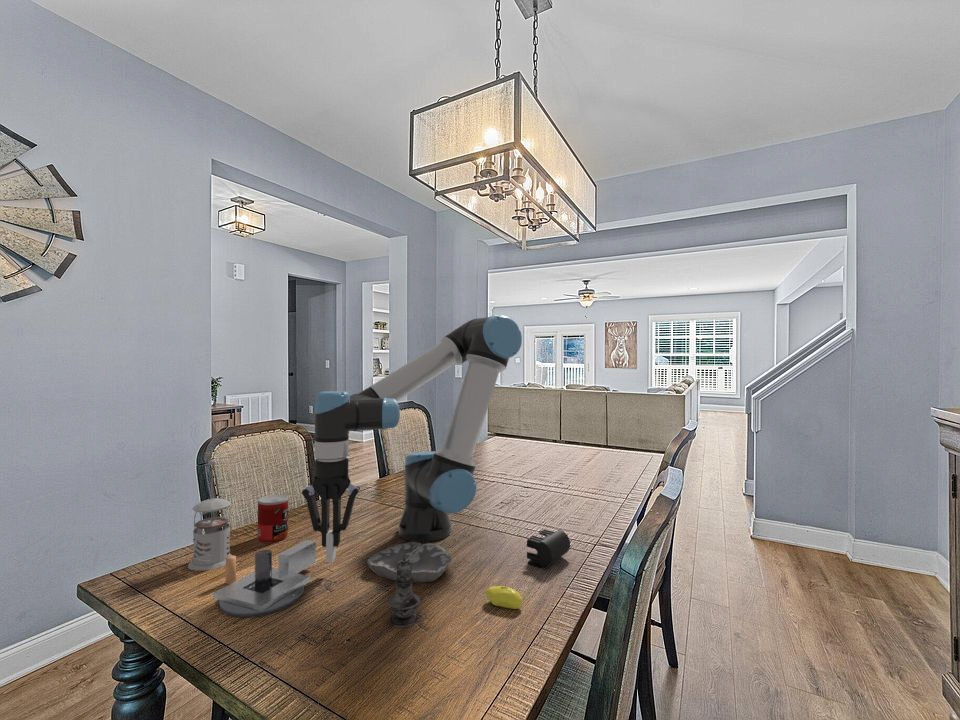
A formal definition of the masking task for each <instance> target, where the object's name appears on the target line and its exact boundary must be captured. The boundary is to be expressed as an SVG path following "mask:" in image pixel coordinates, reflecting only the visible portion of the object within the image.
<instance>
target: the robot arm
mask: <svg viewBox="0 0 960 720" xmlns="http://www.w3.org/2000/svg"><path fill="white" fill-rule="evenodd" d="M522 337H523V336H522V332H521V330H520V328H519V325H518V324H517V322H516V321H515V320H514V319H512V318H511V317H509V316H506V315H497V314H495V315H494V314H493V315H491V316H487V317H480V318H479V317H477V318H472V319H471V320H468V321H466V322H465V323H463V324H462V325H459V327H457V328H456V329H454V330H452V331H451V332H450V333H448V334H447V335H444V336H443V337H441V339H440V343H439V344H436V345H435V346H433V347H431V348H430V349H428V350H426V351H425V352H424V353H422V354H420V355H419V356H417V357H416V358H414V359H412V360H411V361H409V362H407V363H405V364H404V365H402V366H401V367H399V368H398V369H396V370H395V371H393V372H391V373H389V374H388V375H386V376H385V377H383V378H381V379H380V380H378V381H377V382H375V383H373V384H372V385H370V386H369V387H368V388H365V389H363V390H361V391H360V392H359V393H353V394H349V392H348V391H345V390H344V391H343V390H342V391H341V390H337V391H336V390H329V391H328V390H327V391H326V390H325V391H319V392H318V393H317V394H316V395H315V404H314V405H315V406H314V412H313V413H314V451H313V452H314V453H313V454H314V458H315V460H314V463H313V464H314V466H313V467H314V469H313V472H314V474H313V475H314V477H313V480H312V482H311V485H309V486H306V487H305V488H303V490H302V491H301V494H302V496H303V497H304V499H305V500H306V504H307V508H308V513H309V516H310V522H311V526H312V529H313V531H314V532H320V534H321V547H322V548H325V563H326V564H328V563H329V564H330V563H333V562H334V561H335V559H336V556H337V555H336V553H337V550H336V549H337V548H338V547H339V545H340V543H341V532H342V531H346V530H347V528H348V526H349V523H350V520H351V516H352V511H353V510H354V509H353V508H354V504H355V501H356V497H357V495H358V494H359V492H360V490H361V487H360V486H355V485H354V484H353V483H351V479H350V476H349V458H348V456H349V453H350V452H349V447H350V446H349V442H350V441H349V439H350V436H349V434H350V433H349V432H357V431H371V430H372V431H374V430H375V431H376V430H383V431H385V430H386V429H394V428H395V427H397V426H398V425H399V422H400V416H401V413H400V412H401V411H400V410H401V409H400V405H399V401H400V400H402V399H404V397H406V396H408V395H410V394H411V393H412V392H414V391H416V390H417V389H419V388H420V387H422V386H424V385H425V384H427V383H429V381H431V380H432V379H435V378H436V377H437V376H439V375H441V374H442V373H443V372H445V371H447V370H448V369H450V368H451V367H453V366H461V365H462V364H464V363H466V362H468V366H467V370H466V373H465V376H464V378H463V382H462V385H461V388H460V391H459V395H458V397H457V401H456V403H455V407H454V410H453V413H452V415H451V419H450V420H449V421H450V422H449V425H448V428H447V431H446V434H445V437H444V440H443V443H442V445H441V447H440V448H439V449H437V450H431V451H429V450H428V451H419V452H418V451H417V452H412V453H409V454H407V455H406V457H405V461H404V507H403V511H402V513H401V516H400V517H401V518H400V520H399V523H398V535H399V537H400V538H402V539H403V540H407V541H409V542H419V543H424V542H426V543H428V542H433V541H434V542H435V541H439V540H442V539H445V538H447V537H448V536H449V535H450V534H451V532H452V522H451V519H450V516H449V514H450V515H451V514H457V513H460V512H462V511H463V510H465V509H467V508H468V507H469V506H470V504H472V502H473V501H474V499H475V498H476V497H475V496H476V494H477V482H476V480H475V477H474V472H475V469H476V463H475V460H474V459H473V456H474V453H475V450H476V447H477V444H478V441H479V437H480V434H481V431H482V429H483V424H484V421H485V418H486V415H487V413H488V410H489V409H488V408H489V407H490V402H491V399H492V396H493V392H494V389H495V386H496V383H497V380H498V377H499V374H500V373H501V372H503V371H505V370H506V369H507V367H508V363H509V361H510V359H511V358H513V357H514V356H515V355H517V354H518V352H519V351H520V349H521V347H522V343H523V340H522ZM347 489H348V490H347ZM346 491H347V494H348V495H349V497H348V499H347V503H346V505H345V510H344V513H343V517H342V513H341V512H342V508H341V507H342V497H343V495H344V494H345V492H346ZM315 493H316V494H317V495H318V496H319V497H320V504H321V509H320V511H321V517H320V511H319V507H318V503H317V500H316V496H315ZM331 500H332V501H331ZM331 502H332V503H331ZM330 503H331V504H332V529H330V528H331V526H330V505H331V504H330ZM341 519H342V521H341ZM336 547H337V548H336Z"/></svg>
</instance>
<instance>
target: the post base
mask: <svg viewBox="0 0 960 720" xmlns="http://www.w3.org/2000/svg"><path fill="white" fill-rule="evenodd" d="M272 568H273V551H272V550H271V549H262V550H259V551H257V552H255V554H254V572H255V586H254V587H252V588H250V589H248V590H251V591H255V592H259V593H264V592H266V591H267V590H269V589H271V588H273V587H274V586H276V585H278V584H276V583H272ZM304 592H305V584H304V585H303V586H301V587H299V588H298V589H296V590H295V591H293V592H292V593H290V594H288V595H287V596H285V597H284V598H282V599H281V600H279V601H277V602H276V603H274V604H273V605H271V606H269V607H268V608H266V609H265V610H263V611H262V612H261V611H258V610H254V609H250V608H247V607H243V606H240V605H236V604H232V603H229V602H225V601H221V600H218V602H219V604H218V605H219V606H218V607H219V609H220V611H221V612H222V614H225V615H226V616H230V617H234V618H255V617H262V616H265V615H270V614H274V613H277V612H279V611H282V610H283V609H286V608H288V607H289V606H291V605H293V604H294V603H296V602H297V601H298V600H299V599H300V598H302V595H304Z"/></svg>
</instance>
